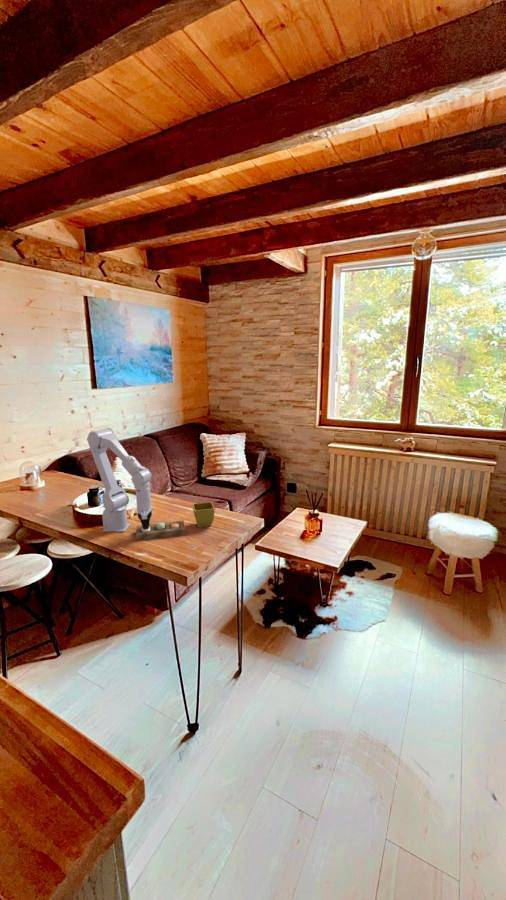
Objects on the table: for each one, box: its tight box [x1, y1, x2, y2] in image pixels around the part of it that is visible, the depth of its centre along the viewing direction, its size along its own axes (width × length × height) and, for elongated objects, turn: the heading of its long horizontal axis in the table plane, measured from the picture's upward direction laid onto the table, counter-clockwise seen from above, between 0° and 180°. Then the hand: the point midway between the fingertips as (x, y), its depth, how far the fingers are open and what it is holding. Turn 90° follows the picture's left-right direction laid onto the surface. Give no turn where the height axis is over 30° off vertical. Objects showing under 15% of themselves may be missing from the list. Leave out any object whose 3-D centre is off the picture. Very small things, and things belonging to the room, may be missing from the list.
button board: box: [135, 520, 186, 542], centre depth 161 cm, size 20×9×2 cm, turn 105°
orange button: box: [171, 523, 179, 529], centre depth 162 cm, size 4×4×2 cm
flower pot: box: [192, 501, 216, 528], centre depth 168 cm, size 9×9×9 cm
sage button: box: [155, 522, 166, 530], centre depth 161 cm, size 4×4×2 cm
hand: (145, 528), depth 159 cm, fingers closed, pressing on cream button
